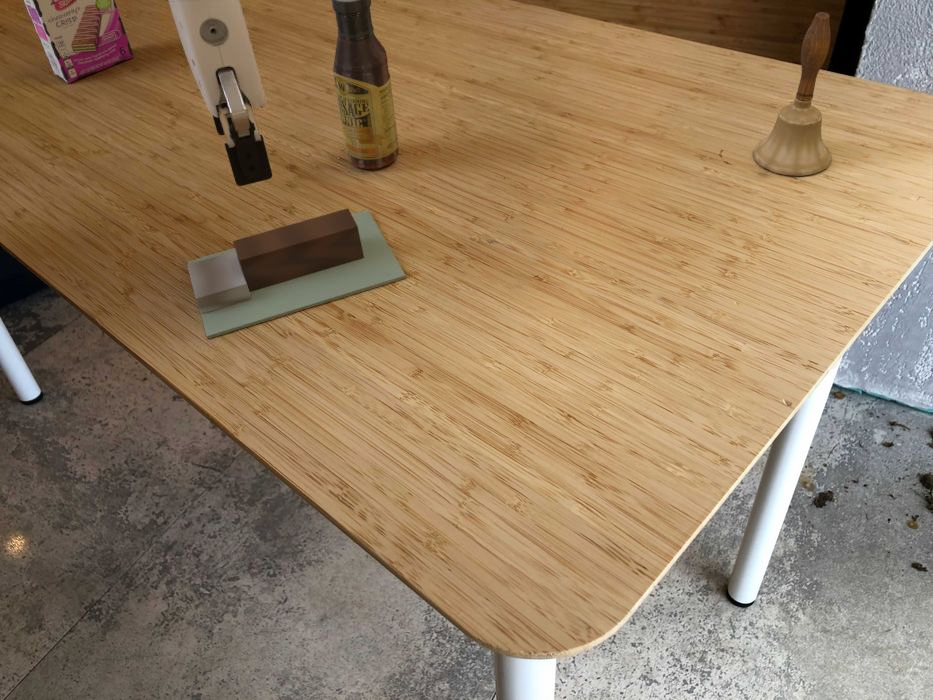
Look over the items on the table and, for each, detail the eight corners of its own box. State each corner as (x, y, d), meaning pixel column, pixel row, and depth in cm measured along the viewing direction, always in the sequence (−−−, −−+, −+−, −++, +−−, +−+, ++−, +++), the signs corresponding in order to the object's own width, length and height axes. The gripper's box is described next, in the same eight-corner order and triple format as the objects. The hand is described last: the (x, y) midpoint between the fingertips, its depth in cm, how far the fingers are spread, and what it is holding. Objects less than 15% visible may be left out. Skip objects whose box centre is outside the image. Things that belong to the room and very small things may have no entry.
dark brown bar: (351, 233, 90) (344, 202, 88) (367, 264, 86) (361, 232, 84) (192, 279, 87) (180, 248, 84) (201, 314, 83) (189, 282, 80)
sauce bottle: (338, 162, 102) (303, -5, 89) (376, 140, 105) (348, -24, 92) (374, 179, 99) (344, 8, 85) (413, 156, 102) (389, -12, 88)
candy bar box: (69, 85, 124) (19, -30, 113) (54, 76, 127) (4, -38, 116) (137, 57, 129) (96, -56, 118) (122, 49, 132) (80, -62, 121)
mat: (207, 339, 81) (206, 336, 80) (188, 264, 90) (187, 261, 89) (406, 278, 85) (405, 275, 85) (368, 212, 94) (368, 209, 94)
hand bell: (764, 132, 99) (789, -6, 88) (839, 146, 96) (874, 4, 85) (743, 167, 94) (766, 26, 83) (820, 183, 91) (855, 38, 80)
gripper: (260, -12, 61) (306, 191, 73) (220, -79, 73) (265, 105, 84) (154, 9, 59) (219, 214, 71) (131, -63, 71) (189, 122, 83)
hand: (244, 154), depth 78 cm, fingers open, 9 cm apart
